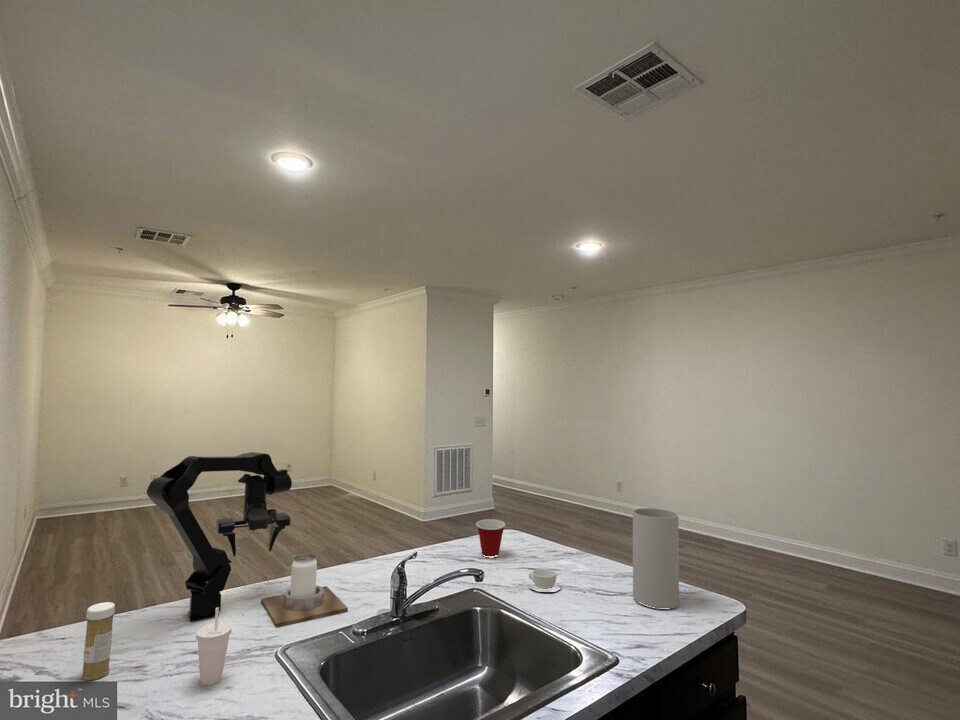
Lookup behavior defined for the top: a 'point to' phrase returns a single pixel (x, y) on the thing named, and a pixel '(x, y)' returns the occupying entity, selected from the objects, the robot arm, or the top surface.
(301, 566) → the can
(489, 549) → the plastic cup
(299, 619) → the base plate
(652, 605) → the cylinder vase
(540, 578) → the teacup
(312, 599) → the ring collar
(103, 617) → the sprinkles bottle
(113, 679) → the top surface
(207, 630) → the smoothie
